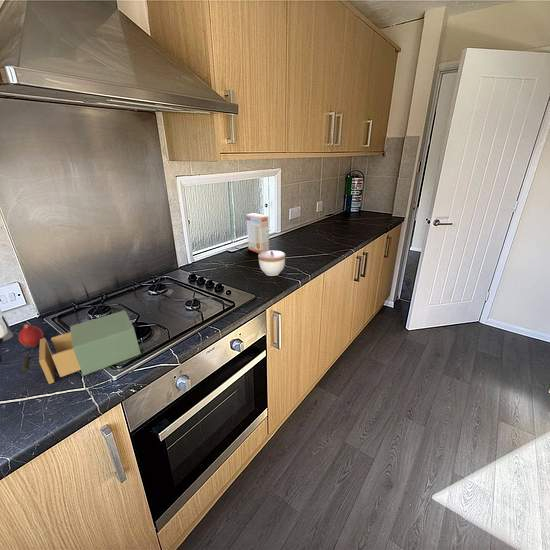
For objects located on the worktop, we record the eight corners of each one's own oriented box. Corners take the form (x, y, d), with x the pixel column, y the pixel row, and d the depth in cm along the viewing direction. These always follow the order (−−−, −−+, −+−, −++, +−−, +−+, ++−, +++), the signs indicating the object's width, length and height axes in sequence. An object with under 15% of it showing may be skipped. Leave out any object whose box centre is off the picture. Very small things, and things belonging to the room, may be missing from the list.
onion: (29, 342, 93) (19, 320, 89) (50, 339, 94) (41, 317, 91) (19, 353, 87) (9, 331, 84) (41, 350, 89) (32, 327, 86)
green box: (83, 376, 78) (72, 348, 74) (79, 352, 87) (69, 326, 84) (140, 354, 85) (134, 327, 82) (131, 334, 95) (125, 310, 91)
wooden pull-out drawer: (27, 392, 72) (16, 368, 69) (29, 367, 80) (19, 345, 77) (108, 362, 81) (101, 340, 78) (102, 342, 90) (95, 322, 87)
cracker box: (270, 253, 165) (268, 216, 157) (261, 255, 162) (259, 217, 154) (256, 247, 176) (254, 212, 167) (248, 249, 172) (245, 213, 164)
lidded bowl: (276, 280, 131) (275, 257, 126) (253, 274, 137) (252, 252, 133) (290, 270, 140) (290, 248, 136) (268, 266, 147) (267, 245, 142)
